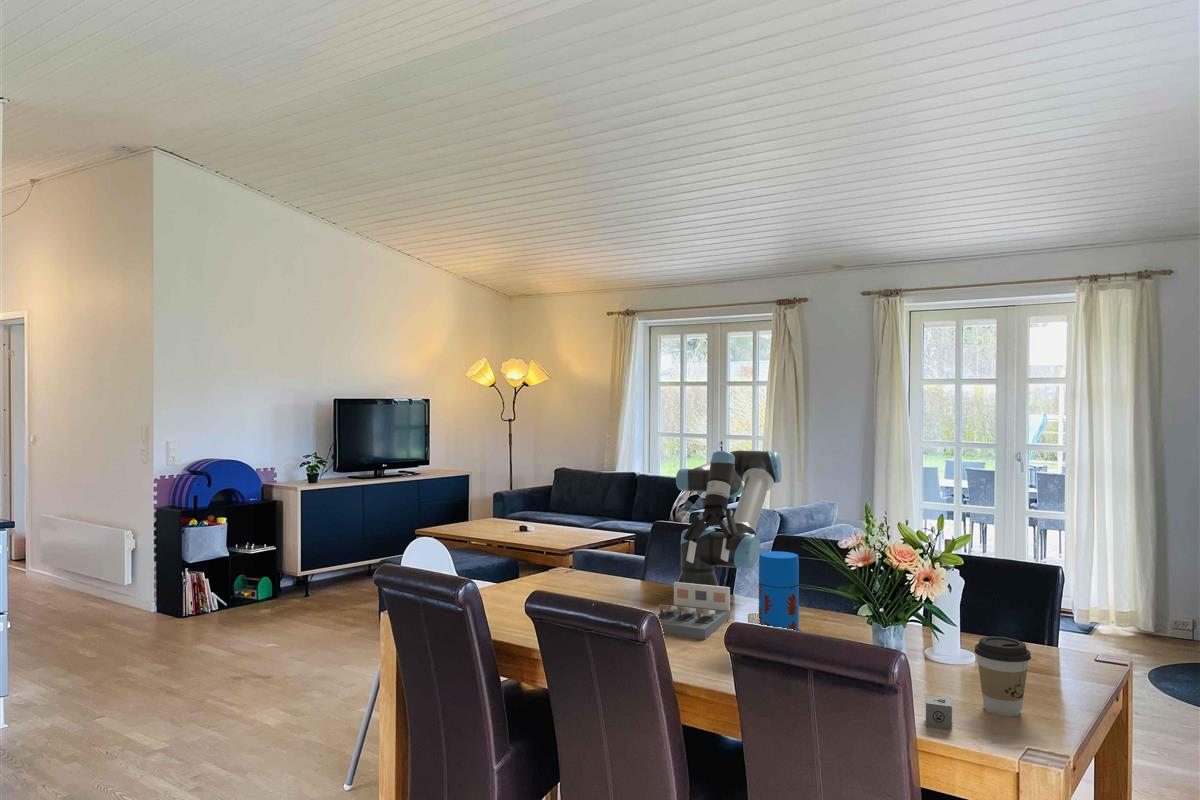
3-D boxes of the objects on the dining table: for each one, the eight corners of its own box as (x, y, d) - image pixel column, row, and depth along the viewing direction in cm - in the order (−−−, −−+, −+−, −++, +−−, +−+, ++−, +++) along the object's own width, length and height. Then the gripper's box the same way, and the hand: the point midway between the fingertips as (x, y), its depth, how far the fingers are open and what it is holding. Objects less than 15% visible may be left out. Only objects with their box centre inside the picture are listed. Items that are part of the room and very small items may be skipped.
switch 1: (667, 609, 259) (668, 605, 259) (677, 610, 258) (677, 606, 258) (658, 608, 252) (658, 604, 252) (667, 609, 251) (668, 605, 251)
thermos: (796, 640, 239) (796, 551, 239) (801, 651, 229) (801, 558, 229) (757, 638, 240) (757, 550, 240) (760, 650, 230) (760, 558, 230)
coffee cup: (1005, 723, 178) (1005, 652, 178) (962, 705, 188) (962, 638, 188) (1043, 715, 182) (1043, 646, 182) (999, 698, 193) (999, 632, 193)
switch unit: (674, 613, 269) (674, 581, 269) (729, 619, 261) (729, 587, 261) (646, 632, 247) (646, 597, 247) (705, 639, 239) (705, 604, 239)
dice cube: (951, 730, 174) (951, 706, 174) (925, 727, 176) (925, 703, 176) (951, 722, 179) (952, 698, 179) (926, 718, 181) (926, 695, 181)
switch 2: (686, 611, 256) (686, 607, 257) (695, 612, 255) (696, 608, 255) (677, 610, 249) (677, 606, 250) (687, 612, 248) (687, 607, 248)
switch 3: (705, 613, 254) (705, 609, 254) (714, 614, 252) (715, 610, 253) (696, 613, 247) (697, 608, 247) (706, 614, 245) (707, 609, 246)
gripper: (679, 496, 278) (668, 558, 269) (741, 489, 261) (731, 555, 252) (694, 504, 283) (683, 566, 274) (755, 498, 265) (746, 563, 256)
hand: (706, 561), depth 263 cm, fingers open, 13 cm apart
